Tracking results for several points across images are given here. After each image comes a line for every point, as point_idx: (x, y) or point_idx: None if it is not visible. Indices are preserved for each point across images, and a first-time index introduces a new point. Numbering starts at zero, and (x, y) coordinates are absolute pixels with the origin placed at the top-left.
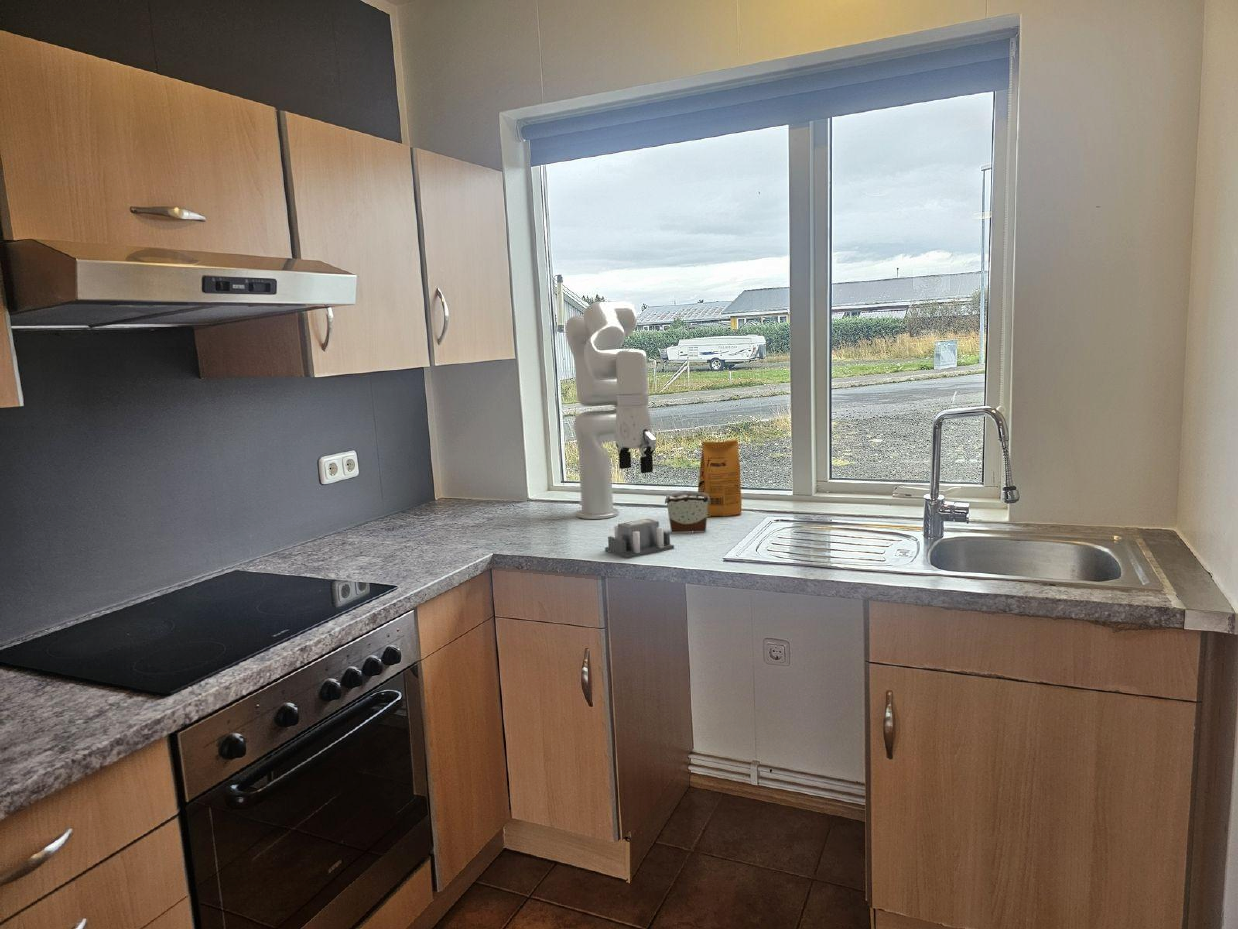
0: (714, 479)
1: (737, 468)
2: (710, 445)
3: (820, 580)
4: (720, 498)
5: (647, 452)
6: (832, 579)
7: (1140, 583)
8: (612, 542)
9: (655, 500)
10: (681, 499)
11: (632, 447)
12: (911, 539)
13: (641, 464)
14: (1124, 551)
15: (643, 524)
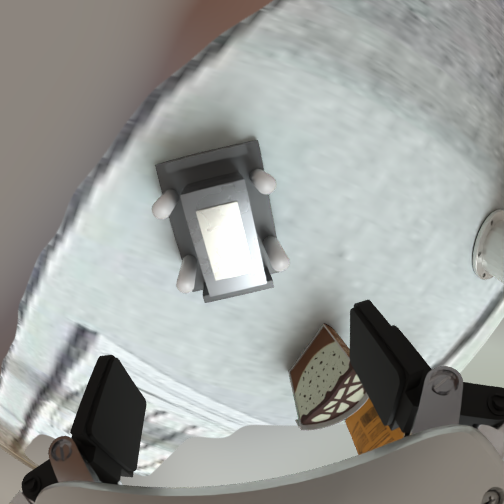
0: (386, 442)
1: None
2: None
3: (2, 362)
4: (366, 424)
5: (44, 466)
6: (6, 371)
7: (24, 457)
8: (221, 149)
9: (482, 340)
10: (334, 389)
11: (75, 486)
12: (138, 473)
13: (85, 392)
14: None
15: (195, 248)
